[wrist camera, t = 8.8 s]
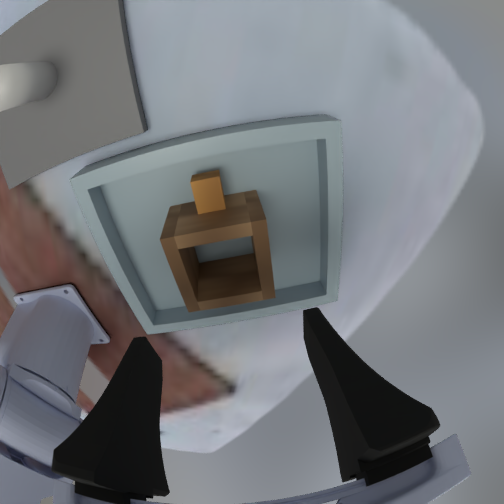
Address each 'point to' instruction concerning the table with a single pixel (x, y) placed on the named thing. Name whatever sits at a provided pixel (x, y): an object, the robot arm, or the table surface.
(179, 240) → the walnut collar
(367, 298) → the table surface
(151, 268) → the pale green tray
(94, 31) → the post board
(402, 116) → the table surface
